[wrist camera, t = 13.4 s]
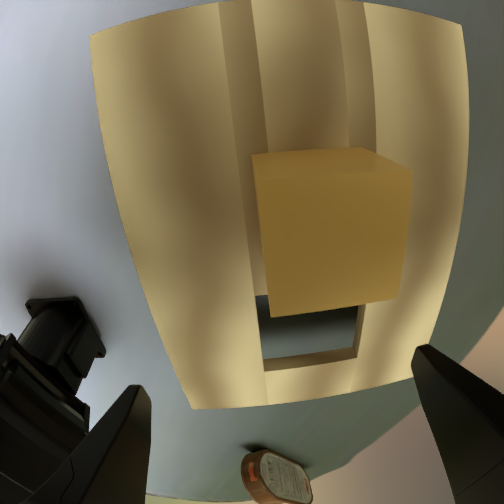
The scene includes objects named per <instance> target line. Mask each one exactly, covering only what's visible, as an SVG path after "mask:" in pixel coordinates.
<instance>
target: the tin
mask: <svg viewBox="0 0 504 504" xmlns="http://www.w3.org/2000/svg"><path fill="white" fill-rule="evenodd" d="M241 476H242V481H243V484H244V486H245V489H246V491H247V492H248V494H249V495H250V497H251V498H252V499H253V500H254V501H255V502H257V503H258V504H311V503H312V501H313V494H312V490H311V486H310V481H309V477H308V475H307V474H306V472H305V470H304V469H303V468H302V467H301V466H300V465H299V464H298V463H296V462H294V461H291V460H289V459H287V458H285V457H283V456H281V455H279V454H277V453H275V452H273V451H271V450H268V449H264V450H260V451H257V452H254V453H249V454H247V455H246V456H245V457H244V458H243V460H242V463H241Z"/></svg>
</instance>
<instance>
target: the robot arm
mask: <svg viewBox="0 0 504 504" xmlns="http://www.w3.org/2000/svg"><path fill="white" fill-rule="evenodd" d="M25 306H26V308H27V310H28V312H29V314H30V315H31V317H32V319H31V320H30V322H29V323H28V325H27V326H26V328H25V329H24V331H23V332H22V334H21V335H20V336H19V338H18V340H16V337H15V336H14V335H13V334H12V333H10V334H8V335H7V336H6V337H5V336H4V335H1V334H0V504H145V495H146V484H147V474H148V465H149V456H150V447H151V400H150V398H149V396H148V394H147V393H146V391H145V389H144V388H143V386H141V385H129V386H128V387H127V388H126V389H125V391H124V392H123V393H122V394H121V395H120V396H119V398H118V399H117V400H116V401H115V402H114V404H113V405H112V406H111V407H110V408H109V409H108V411H107V412H106V413H105V414H104V415H103V417H102V418H101V419H100V420H99V421H98V422H97V424H96V425H95V426H94V427H93V428H92V430H91V431H90V432H89V418H90V406H88V405H87V404H86V403H83V402H82V401H81V400H79V399H78V398H77V397H76V396H75V395H76V393H77V391H78V388H79V386H80V384H81V381H82V379H83V378H86V377H87V375H88V372H89V370H90V368H91V365H92V363H93V361H94V358H104V357H105V355H106V351H105V349H104V347H103V345H102V343H101V341H100V340H99V338H98V336H97V334H96V332H95V330H94V328H93V326H92V324H91V322H90V320H89V318H88V316H87V314H86V312H85V310H84V308H83V306H82V303H81V301H80V300H79V299H78V298H75V297H71V298H54V299H35V300H28V301H27V302H26V304H25ZM411 370H412V373H413V376H414V380H415V383H416V387H417V390H418V394H419V397H420V401H421V404H422V407H423V410H424V412H425V415H426V417H427V420H428V422H429V425H430V427H431V430H432V433H433V436H434V438H435V441H436V444H437V446H438V449H439V452H440V455H441V458H442V461H443V464H444V467H445V470H446V473H447V476H448V479H449V482H450V486H451V489H452V492H453V496H454V500H455V503H456V504H504V394H501V392H499V391H498V390H496V389H495V388H493V387H492V386H490V385H489V384H488V383H486V382H484V381H483V380H482V379H480V378H479V377H477V376H476V375H474V374H473V373H471V372H470V371H468V370H467V369H465V368H464V367H462V366H461V365H459V364H458V363H456V362H455V361H453V360H452V359H450V358H449V357H447V356H446V355H444V354H443V353H441V352H440V351H438V350H437V349H435V348H434V347H432V346H431V345H429V344H423V345H420V346H417V347H416V349H415V352H414V355H413V358H412V361H411Z"/></svg>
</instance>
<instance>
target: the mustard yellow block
mask: <svg viewBox="0 0 504 504" xmlns="http://www.w3.org/2000/svg"><path fill="white" fill-rule="evenodd" d="M251 157H252V166H253V174H254V183H255V192H256V201H257V210H258V219H259V228H260V237H261V246H262V255H263V263H264V270H265V277H266V285H267V292H268V299H269V307H270V314H271V317H279V316H287V315H295V314H303V313H310V312H317V311H324V310H331V309H337V308H344V307H350V306H356V305H362V304H368V303H374V302H379V301H385V300H390V299H396V298H397V297H398V291H399V286H400V280H401V275H402V268H403V262H404V255H405V248H406V241H407V232H408V223H409V213H410V202H411V188H412V170H410V169H408V168H406V167H404V166H402V165H400V164H398V163H396V162H394V161H391V160H389V159H387V158H385V157H383V156H381V155H379V154H376V153H374V152H372V151H370V150H367V149H365V148H363V147H349V148H327V149H310V150H297V151H284V152H274V153H263V154H254V155H251Z"/></svg>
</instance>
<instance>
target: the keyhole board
mask: <svg viewBox="0 0 504 504" xmlns="http://www.w3.org/2000/svg"><path fill="white" fill-rule="evenodd" d="M89 38H90V51H91V62H92V71H93V80H94V88H95V95H96V102H97V109H98V115H99V121H100V127H101V133H102V138H103V143H104V149H105V154H106V158H107V163H108V168H109V172H110V177H111V181H112V185H113V189H114V193H115V197H116V201H117V205H118V209H119V213H120V217H121V220H122V224H123V228H124V231H125V235H126V238H127V241H128V245H129V248H130V251H131V255H132V258H133V261H134V264H135V267H136V270H137V273H138V276H139V279H140V282H141V285H142V288H143V291H144V294H145V297H146V300H147V302H148V305H149V308H150V311H151V313H152V316H153V319H154V321H155V324H156V326H157V329H158V332H159V334H160V337H161V339H162V342H163V344H164V347H165V349H166V351H167V354H168V356H169V359H170V361H171V363H172V366H173V368H174V370H175V372H176V375H177V377H178V379H179V381H180V384H181V386H182V388H183V390H184V392H185V394H186V396H187V399H188V401H189V403H190V405H191V407H192V409H217V408H236V407H250V406H261V405H271V404H280V403H288V402H296V401H303V400H310V399H316V398H322V397H328V396H334V395H339V394H344V393H349V392H354V391H359V390H363V389H368V388H372V387H377V386H381V385H385V384H389V383H393V382H396V381H400V380H404V379H407V378H411V377H414V376H413V373H412V370H411V361H412V358H413V355H414V352H415V349H416V347H417V346H420V345H423V344H428V343H429V340H430V337H431V335H432V332H433V329H434V326H435V323H436V320H437V317H438V313H439V310H440V307H441V304H442V300H443V297H444V293H445V290H446V286H447V282H448V278H449V274H450V270H451V266H452V262H453V257H454V253H455V248H456V243H457V238H458V233H459V227H460V221H461V215H462V209H463V201H464V194H465V185H466V175H467V163H468V146H469V92H468V76H467V64H466V55H465V47H464V39H463V33H462V27H461V25H459V24H456V23H453V22H450V21H447V20H444V19H440V18H437V17H433V16H430V15H426V14H422V13H418V12H414V11H410V10H405V9H400V8H396V7H390V6H385V5H379V4H373V3H366V2H358V1H349V0H234V1H225V2H217V3H210V4H204V5H198V6H192V7H187V8H182V9H177V10H172V11H168V12H163V13H159V14H155V15H151V16H147V17H144V18H140V19H137V20H133V21H130V22H127V23H124V24H120V25H117V26H114V27H112V28H109V29H106V30H103V31H100V32H98V33H95V34H92V35H90V36H89ZM349 147H363V148H365V149H367V150H370V151H372V152H374V153H376V154H379V155H381V156H383V157H385V158H387V159H389V160H391V161H394V162H396V163H398V164H400V165H402V166H404V167H406V168H408V169H410V170H412V188H411V202H410V213H409V223H408V232H407V241H406V248H405V255H404V262H403V268H402V275H401V280H400V286H399V291H398V297H397V298H396V299H390V300H385V301H379V302H374V303H368V304H362V305H359V306H358V314H357V321H356V328H355V335H354V341H353V347H348V348H342V349H336V350H330V351H324V352H317V353H311V354H304V355H296V356H289V357H281V358H272V359H263V355H262V347H261V339H260V331H259V324H258V316H257V308H256V300H255V296H259V295H268V292H267V285H266V277H265V270H264V263H263V255H262V246H261V237H260V228H259V219H258V210H257V201H256V192H255V183H254V174H253V166H252V157H251V155H254V154H263V153H274V152H284V151H297V150H310V149H327V148H349Z"/></svg>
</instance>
